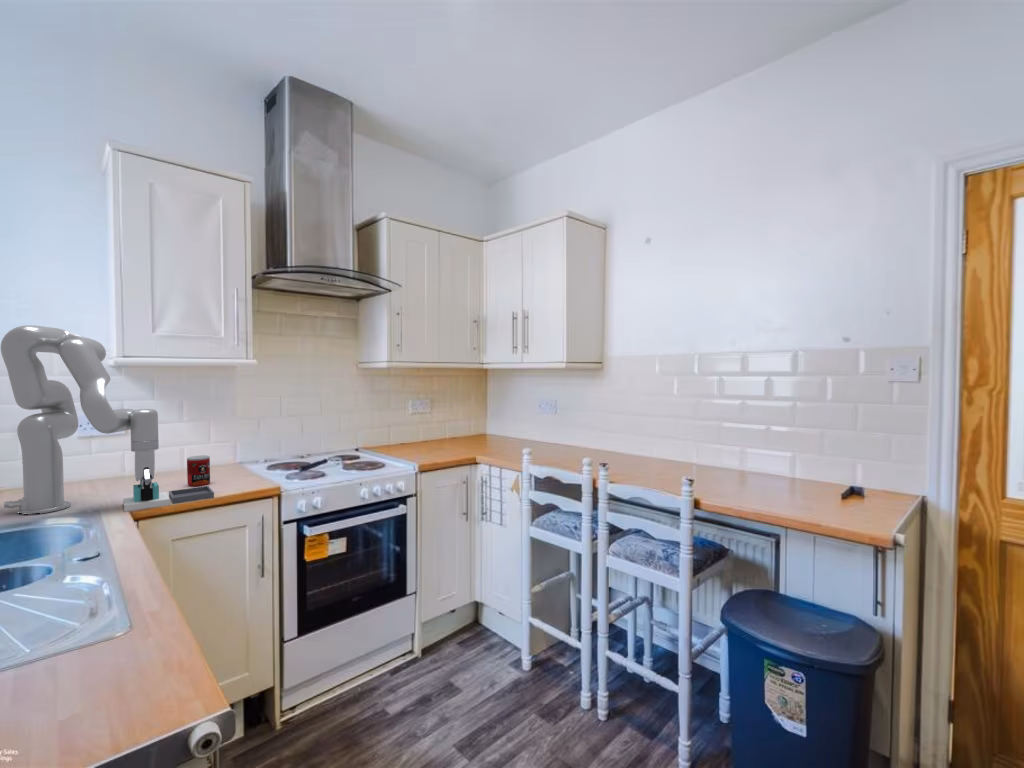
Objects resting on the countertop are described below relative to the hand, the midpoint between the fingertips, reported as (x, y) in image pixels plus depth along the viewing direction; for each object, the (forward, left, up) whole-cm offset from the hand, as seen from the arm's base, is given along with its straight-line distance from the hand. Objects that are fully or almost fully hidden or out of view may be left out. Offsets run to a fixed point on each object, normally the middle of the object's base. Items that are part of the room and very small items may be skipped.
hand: (146, 497), depth 166 cm
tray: (+13, +1, -2) cm, 13 cm away
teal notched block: (0, 0, 0) cm, 0 cm away
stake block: (0, 0, -2) cm, 2 cm away
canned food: (+18, +22, -3) cm, 29 cm away
